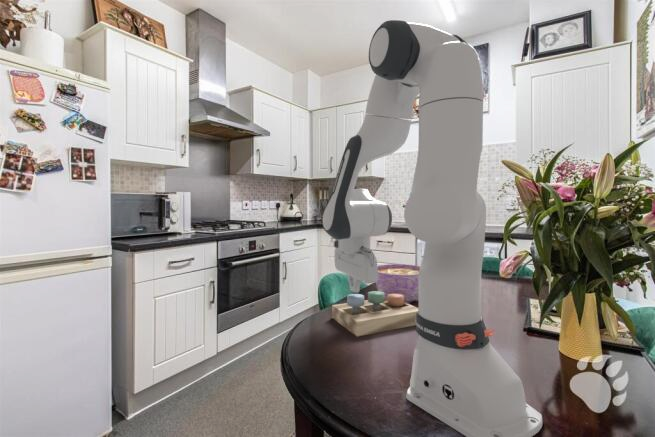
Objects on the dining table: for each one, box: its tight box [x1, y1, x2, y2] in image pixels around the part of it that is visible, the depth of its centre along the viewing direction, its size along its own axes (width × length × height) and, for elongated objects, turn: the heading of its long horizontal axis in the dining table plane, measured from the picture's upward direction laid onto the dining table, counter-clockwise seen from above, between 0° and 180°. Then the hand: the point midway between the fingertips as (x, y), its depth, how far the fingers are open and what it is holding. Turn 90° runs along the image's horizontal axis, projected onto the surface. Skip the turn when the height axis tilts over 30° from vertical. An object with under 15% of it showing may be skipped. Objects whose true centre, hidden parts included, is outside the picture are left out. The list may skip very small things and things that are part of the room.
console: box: [331, 297, 418, 337], centre depth 99 cm, size 16×22×4 cm
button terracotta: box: [387, 294, 404, 309], centre depth 102 cm, size 5×5×6 cm
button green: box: [367, 290, 385, 312], centre depth 99 cm, size 5×5×6 cm
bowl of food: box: [375, 263, 421, 304], centre depth 120 cm, size 20×20×12 cm
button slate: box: [346, 293, 365, 315], centre depth 96 cm, size 5×5×6 cm
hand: (354, 291), depth 97 cm, fingers closed
